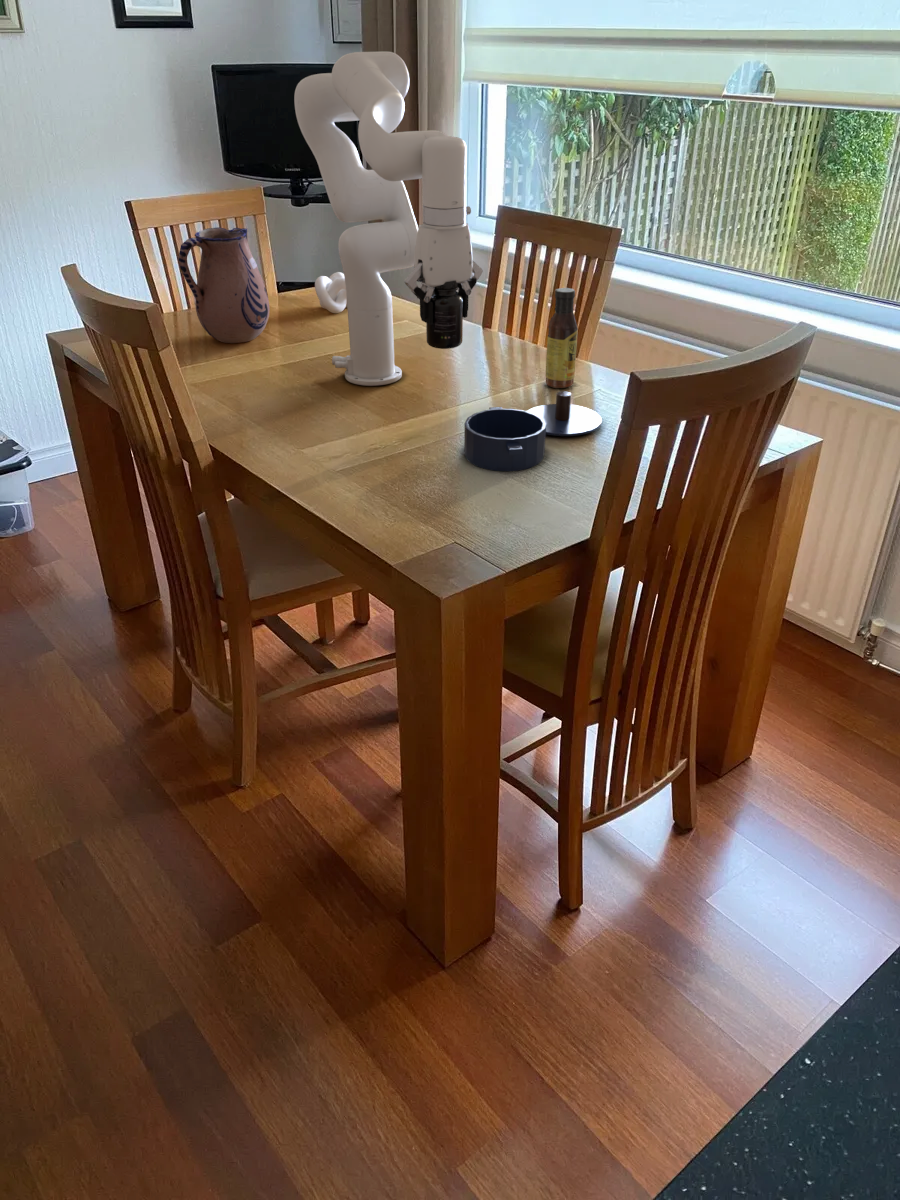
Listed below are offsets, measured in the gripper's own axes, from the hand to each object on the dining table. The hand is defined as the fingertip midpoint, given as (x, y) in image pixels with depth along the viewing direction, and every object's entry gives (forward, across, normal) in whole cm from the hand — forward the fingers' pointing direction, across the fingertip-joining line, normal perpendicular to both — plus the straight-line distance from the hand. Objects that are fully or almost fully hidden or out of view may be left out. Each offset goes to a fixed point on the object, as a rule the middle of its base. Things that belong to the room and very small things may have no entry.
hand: (444, 318), depth 166 cm
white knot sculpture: (+21, -17, -82) cm, 87 cm away
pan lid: (+19, -18, +14) cm, 30 cm away
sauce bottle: (+20, -32, -3) cm, 38 cm away
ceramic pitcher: (+21, +16, -72) cm, 77 cm away
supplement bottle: (+5, 0, 0) cm, 5 cm away
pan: (+20, 0, +20) cm, 28 cm away
